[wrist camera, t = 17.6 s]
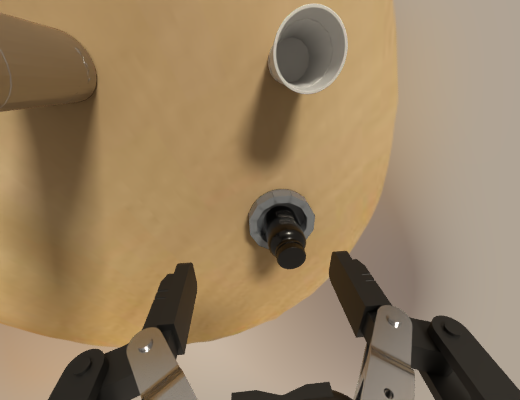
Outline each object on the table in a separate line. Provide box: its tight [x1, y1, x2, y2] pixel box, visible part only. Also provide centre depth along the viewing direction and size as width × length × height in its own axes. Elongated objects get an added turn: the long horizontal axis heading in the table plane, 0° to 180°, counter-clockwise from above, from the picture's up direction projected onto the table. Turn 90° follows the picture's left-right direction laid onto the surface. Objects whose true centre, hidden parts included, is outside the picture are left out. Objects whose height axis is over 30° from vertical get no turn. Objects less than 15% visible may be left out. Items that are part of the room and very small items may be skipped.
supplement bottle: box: [264, 206, 306, 269], centre depth 41 cm, size 7×7×12 cm
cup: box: [268, 4, 348, 94], centre depth 29 cm, size 8×8×12 cm
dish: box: [249, 189, 315, 249], centre depth 46 cm, size 13×13×3 cm
